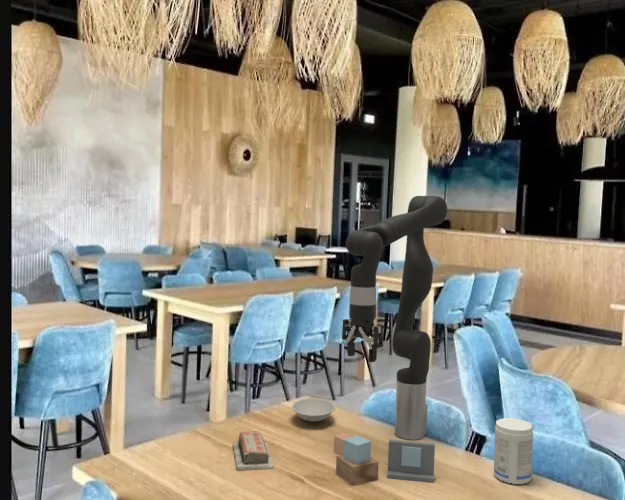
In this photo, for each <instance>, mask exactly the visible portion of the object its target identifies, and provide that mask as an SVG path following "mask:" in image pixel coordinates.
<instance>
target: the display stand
mask: <svg viewBox="0 0 625 500" xmlns="http://www.w3.org/2000/svg"><path fill="white" fill-rule="evenodd" d="M435 449H436V443H435V442H426V441H425V442H424V441H413V440H401V439H391V438H389V439H388V449H387V450H388V452H387V474H386V475H387V476H386V478H387V479H393V480H405V481H414V482H424V483H434V482H435V474H434V473H435V455H436V454H435V452H436V451H435Z"/></svg>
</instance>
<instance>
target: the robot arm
mask: <svg viewBox="0 0 625 500" xmlns="http://www.w3.org/2000/svg"><path fill="white" fill-rule="evenodd" d="M447 214H448V205H447V202H446V200H445V199H444V198H443V197H441V196H436V195H416V196H413V197H412V198H411V199H410V201H409V203H408V208H407V212H405V213H401V214H397V215H393V216H390V217H388V218H385V219H383V220H381V221H380V222H378V223H376V224H373V225H369V226H366V227H361V228H358V229H356V230H354V231H351V232H350V233H349V235H348V236H347V238H346V241H345V248H346V251H347V252H348V253H349V254H351V255H353V256H355V257H357V256H358V257H363V258H362V261H361V263H359V264H356V265H353V266H352V268H351V271H350V272H351V273H350V290H349V305H348V306H349V307H348V309H349V312H348V317H349V318H345V319H343V320H342V328H341V339H342V340H343V341H344V340H345V342H346V345H347V346H346V353H347V356H348V357H354V356H355V354H356V343H355V341H356V340H357V339H358V338H360V339H362V340H363V341H364V342H365V343H366V344H367V347H368V360H367V361H368V363H375V362H377V361H376V360H377V357H378V356H377V355H378V354H377V353H378V349H379V348H383V346H384V333H383V332H384V331H383V330H384V328H383V326H382V325H375V324H374V322H375V320H376V318H377V271H378V267H379V265H380V260H381V257H382V254H383V249H384V247H386V246H389V245H391V244H393V243H395V242H396V241H399V240H400V239H402V238H404V237H406V244H405V245H406V246H405V253H404V265H403V272H402V278H401V279H402V280H401V291H400V298H399V303H398V305H399V307H398V312H397V317H396V321H395V325H394V331H393V336H392V341H391V342H392V343H391V344H392V345H391V346H392V351H393V353H394V355H396V356H397V357H399V358H404V359H408V360H410V362H409V367H403V368H400V369H398V370H397V372H396V388H395V389H396V390H395V391H396V392H395V414H394V415H395V418H394V419H395V420H394V435H395V436H396V437H399V438H401V439H405V440H410V441H413V440H420V439H423V438H424V437H425V435H427V432H428V431H427V427H428V425H427V423H428V404H427V403H426V401H427V400H426V398H427V377H428V374H429V370H430V362H431V361H430V360H431V352H432V351H431V348H432V342H431V337H430V335H429V334H428V333H427V332H426V331H422V330H419V329H418V330H417V329H413V324H414V319H415V315H416V313H417V311H418V309H419V308H420V307H421V305H422V304H423V302H424V301H425V300H426V298H427V296H429V294H430V292H431V289H432V283H433V277H434V266H433V262H432V259H431V257H430V255H429V252H428V250H427V248H426V244H425V240H424V237H425V235H424V233H425V232H424V230H425V229H427V228H430V227H433V226H437V225H438V226H439V225H440V224H443V222H444V221H445V219H446V218H447Z"/></svg>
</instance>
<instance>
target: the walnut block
mask: <svg viewBox="0 0 625 500" xmlns="http://www.w3.org/2000/svg"><path fill="white" fill-rule="evenodd" d="M335 462H336V465H335V466H336V467H335V474H336V475H337V476H338V477H340V478H341V479H342V480H344V481H345V482H347V484H348V485H350V486H351V487H353V486H356V485H361V484H366V483H370V482H371V483H372V482H374V481H375V482H376V481H378V480H379V461H378V460H376V459H375V458H374V457H372V456H371V459H370V460H368V461H365V462H362V463H360V464H355V463H353V462H351V461H348V460H346V459H344V454H343V455H338V454H337V455H336V461H335Z"/></svg>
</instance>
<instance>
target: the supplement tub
mask: <svg viewBox="0 0 625 500" xmlns="http://www.w3.org/2000/svg"><path fill="white" fill-rule="evenodd" d="M533 446H534V430H533V425H532V424H531V423H530V422H529V421H526V420H523V419H519V418H515V417H514V418H513V417H510V418H509V417H507V418H505V417H504V418H500V419H497V420H496V421H495V427H494V451H493V454H494V456H493V460H494V461H493V474H494V476H495V478H496V479H498V480H499V481H501V482H503V481H504V482H503V483H506V482H507V483H506V484H510V483H512V484H511V485H525V483H526V484H528V483H529V482H531V481H532V476H533V473H532V472H533Z"/></svg>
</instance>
